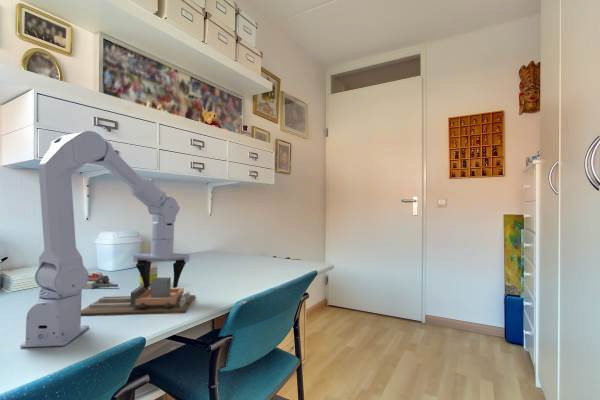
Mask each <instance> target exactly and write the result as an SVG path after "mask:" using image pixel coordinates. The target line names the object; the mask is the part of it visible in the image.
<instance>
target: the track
mask: <svg viewBox="0 0 600 400" xmlns="http://www.w3.org/2000/svg"><path fill="white" fill-rule="evenodd" d="M195 298H196V295H195V294H191V292H190V290H188V291H185V292H184V294H183V295H182V296H181V297H180V299H179V300H178V301H177V302H176V304H171V306H170V307H169V308H168V309H166V308H165V307H164V305H165V304H163V305H145V307H144V308H143V309H139V305H130V300H131V295H130V296H129V295H128V296H127V295H126V296H121V295H120V296H119V295H118V296H103V297H100V298H99V299H98V300H96V301H94V302H93V303H91V304H89V305H88V306H86V307H85V308H83V309H81V317H82V316H85V317H86V316H118V315H119V316H121V315H157V314H185V313H186V312H187V310H188V308H189V307H190V305H191V304H192V302H193V301H194V299H195Z"/></svg>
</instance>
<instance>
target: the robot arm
mask: <svg viewBox="0 0 600 400" xmlns="http://www.w3.org/2000/svg"><path fill="white" fill-rule="evenodd" d="M87 164H90V165H96V166H101V167H103V168H105V169H107V170H108V171H109V172H111V174H112V175H115V176H116V177H117V178H119V179H120V180H122V181H123V182H124V183H125V184H127V185H128V186H129V191H130V192H129V193H130V194H131V195H133V196H134V197H135V198H136V199H137V200H139V202H141V203H142V204H143V205H145V206H146V207H147V211H148V213H149V214H150V215H152V216H151V217H152V219H151V248H150V250H151V251H150V252H149V253H135V254H133V263H136V264H135V265H136V267H135V268H137V271H138V272H139V275H140V274H141V277H142V280H143V283H144V288H148V287H149V285H150V267H151V261H155V262H174V263H172V266H173V267H172V268H173V283H172V284H173V285H172V286H173V287H172V288H178V286H179V285H178V284H179V281H180V277H181V274H182V271H183V269H184V267H185V265H186V264H187V263H189V262H190V258H191V257H190V255H191V254H190V253H176V252H175V253H174V241H175V239H174V238H175V222H176V221H177V220H176V217H177V215H178V213H179V212H180V206H179V205H178V204H179V203H178V201H177V200H176V199H175V198H174V197H173V196H167V192H166V191H164V190H162V189H161V188H160V187H158V186H157V185H156V184H155V180H154V179H152V178H149V177H141V176H140V175H139V174H138V173H137V172H136V171H134V169H133V168H132V167H131V166H130V165H129V164H128V163H127V162H126V161H125V160H124V159H123V158H122V157H121V156H120V155H119V154H118V153H117V152H116V151H115V149H114V147H113V145H112V143H110V142H109V141H107V140H105V138H104V137H103V136H102V135H101V134H99V133H98V132H96V131H94V130H93V131H92V130H83V131H82V132H77V133H72V134H64V135H62V136H59V137H57V138H56V139H54V140H52V141H51V142H50V147H49V148H48V150H47V152H46V153H45V154H44V156H43V157H42V159H41V160H40V162H39V164H38V180H39V182H38V183H39V192H40V207H41V221H42V236H43V247H44V249H43V251H42V252H41V254H40V255H39V257H38V267H37V269H36V271H35V274H34V281H35V283H36V285H37V286H39V287H40V290H39V293H38V299H37V302H36V303H35V304H34V305H33V306H32V307H30V309H29V310H28V311H27V313H26V316H25V317H26V319H25V320H26V321H25V322H26V323H25V341H24V342H23V343H21V344H20V345H19V347H20V348H32V347H33V348H38V347H39V348H42V347H60V346H66V345H67V344H69V343H70V342H71V341H72V340H74V339H75V338H76V337H78V336H79V335H80V334H82V333H84V332H85V331H86V330H87V329H89V327H90V325H89V324H82V325H81V322H82V321H81V320H82V316H81V310H82V295H83V294H82V291H83V290H84V289H83V288H84V287H85V285H86V284H87V282H88V277H89V276H88V275H89V274H88V273H89V272H88V270H87V268H86V267H85V266H84V262H83V256H82V255H81V253H80V252H79V250H78V248H77V243H76V229H75V225H76V224H75V214H74V213H75V212H74V199H73V197H74V196H73V183H72V175H73V174H74V173H76V172H77V171H78V170H79V169H80V168H82V167H84V165H87ZM148 289H149V288H148Z"/></svg>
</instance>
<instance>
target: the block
mask: <svg viewBox="0 0 600 400" xmlns="http://www.w3.org/2000/svg"><path fill="white" fill-rule="evenodd" d="M171 279H172V278H171V277H169V276H168V277H157V278H155V279H154V280H152V281H151V287H150V289H151V298H168V297H169V296H170V288H171V285H172V284H171V283H172V282H171V281H172V280H171Z"/></svg>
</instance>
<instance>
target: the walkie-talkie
mask: <svg viewBox="0 0 600 400" xmlns="http://www.w3.org/2000/svg"><path fill="white" fill-rule="evenodd" d="M88 276H89V277H88V282H87V284H86V285H85V287H84V288H83V289H82V290H84V289H85V290H88V289H90V290H92V289H95V288H115V287H117V288H118V287H119V285H118V284H117V283H109V282H110V278H109V276H108V275H103V273H102V272H100V271H99V272H97V271H95V272H94V271H89V272H88Z"/></svg>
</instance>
